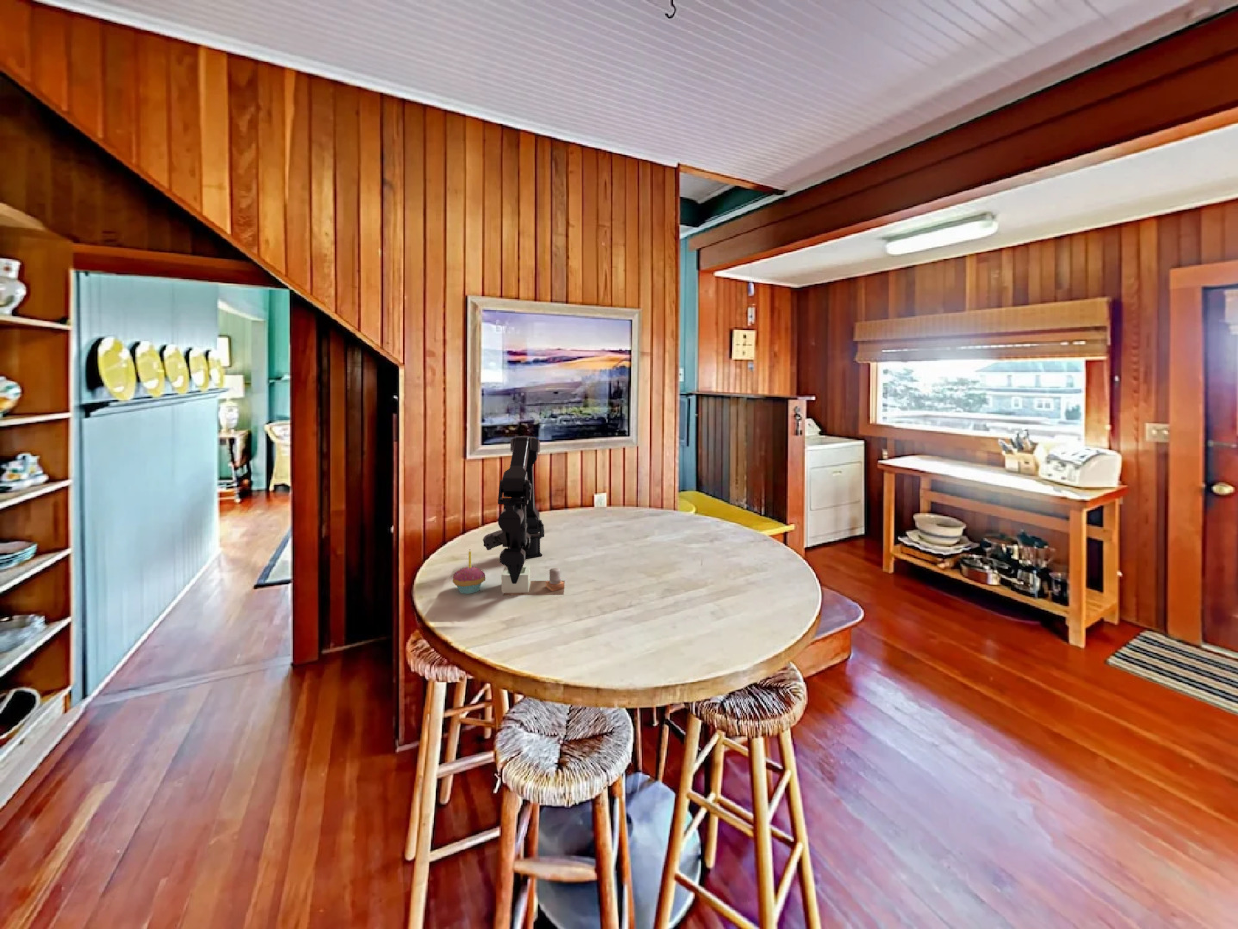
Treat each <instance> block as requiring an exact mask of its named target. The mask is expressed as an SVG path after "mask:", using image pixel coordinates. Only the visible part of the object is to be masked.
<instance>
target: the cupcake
mask: <svg viewBox="0 0 1238 929" xmlns="http://www.w3.org/2000/svg"><path fill="white" fill-rule="evenodd" d="M485 581H486V574H485V572H484V571H483V570H482V569H481V568H478V567H474V566H472V551H471V550H469V551H468V566H465V567H462V568H460V569H458V570H457V571H456V572H454V573H453V576H452V583H453V584H454V585H455V586H456V587H457V590H458V592H459V593H461V594H475V593H476V592H478V591H479V590H480V588H481V585H482V583H483V582H485Z"/></svg>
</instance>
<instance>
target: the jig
mask: <svg viewBox="0 0 1238 929" xmlns="http://www.w3.org/2000/svg"><path fill="white" fill-rule="evenodd" d="M561 579H562V578H561V569H560V568H557V567H553V568H550V569H549V580H531V583H530V587H529V591H528V593H502V596H562V595H563V596H564V595H565V594H564V593H565V585H566V584H565V583H566V580H561Z"/></svg>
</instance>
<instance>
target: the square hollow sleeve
mask: <svg viewBox="0 0 1238 929" xmlns="http://www.w3.org/2000/svg"><path fill="white" fill-rule="evenodd" d="M500 576H501V593H502V594H503V593H528V591H529V587H530V583H531V581H532V580H531V578H532V577H531V565H523V567H522V570H521V573H520V575H519V578H518V581H517V583H516V584H512V581H511V578H510V574H509V571H508V568H507V566H505V565H504V568H503V570H502V573H501V575H500Z"/></svg>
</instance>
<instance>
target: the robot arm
mask: <svg viewBox="0 0 1238 929" xmlns="http://www.w3.org/2000/svg"><path fill="white" fill-rule="evenodd" d="M509 446H510V448H509V449H510V450H509V451H510V452H511V453H512V454H511V459H510V464H509V468H508V469H507V470H505V471H504V472H503V474H502V478H501V479H500V480H499V486H498V499H497V505H503V509H502V512H501V513H500V514H499V517H498V519H497V525H498V527H499V530H496V531H494V532H491V533H488V534H486V535H484V537H483V539H482V541H483V547H485V549H486V551H491V550H492V549H494V548H496V547H497V548H498V547H500V546H502V548H503V549H502V550H501V551H500V554H499V564H501V565H504V567H505V566H507V568H508V571H509V574H510V578H511V581H512V584H516V583H517V581H518V578H519V575H520V573H521V570H522V567H523V566H525V565H524V564H525V562H526V559H529V558H536V557H542V556H543V554H542V553H541V539H543V538H544V537H545V525H544V522H543V520H542V519H541V514H540V512H539V510H538V509H537V508H536V506H535V504H536V503H535V477H534V464H535V463H536V461H537V460H538V456H539V453H540V451H541V441H540V440H539V439H538V438H537V437H535V436H531V437H530V436H521V435H519V436H514V437H513V438H511V439H510V445H509Z"/></svg>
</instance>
